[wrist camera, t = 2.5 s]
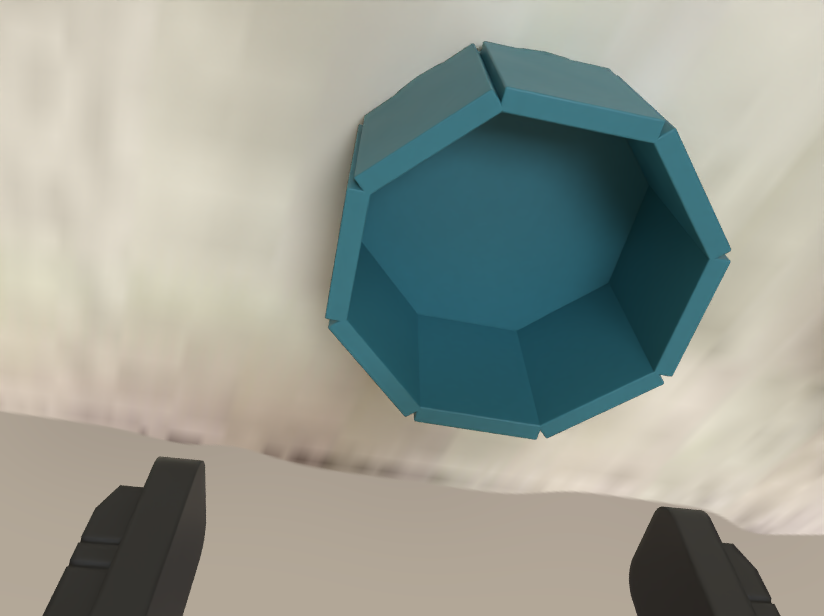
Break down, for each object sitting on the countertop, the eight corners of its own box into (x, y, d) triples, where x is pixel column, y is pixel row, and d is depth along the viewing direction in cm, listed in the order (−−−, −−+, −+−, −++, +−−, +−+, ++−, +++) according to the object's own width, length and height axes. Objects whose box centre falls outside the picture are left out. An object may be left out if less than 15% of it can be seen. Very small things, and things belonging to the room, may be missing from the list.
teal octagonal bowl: (328, 305, 34) (310, 406, 27) (377, 14, 27) (368, 57, 20) (591, 350, 35) (632, 455, 29) (702, 86, 28) (790, 146, 22)
